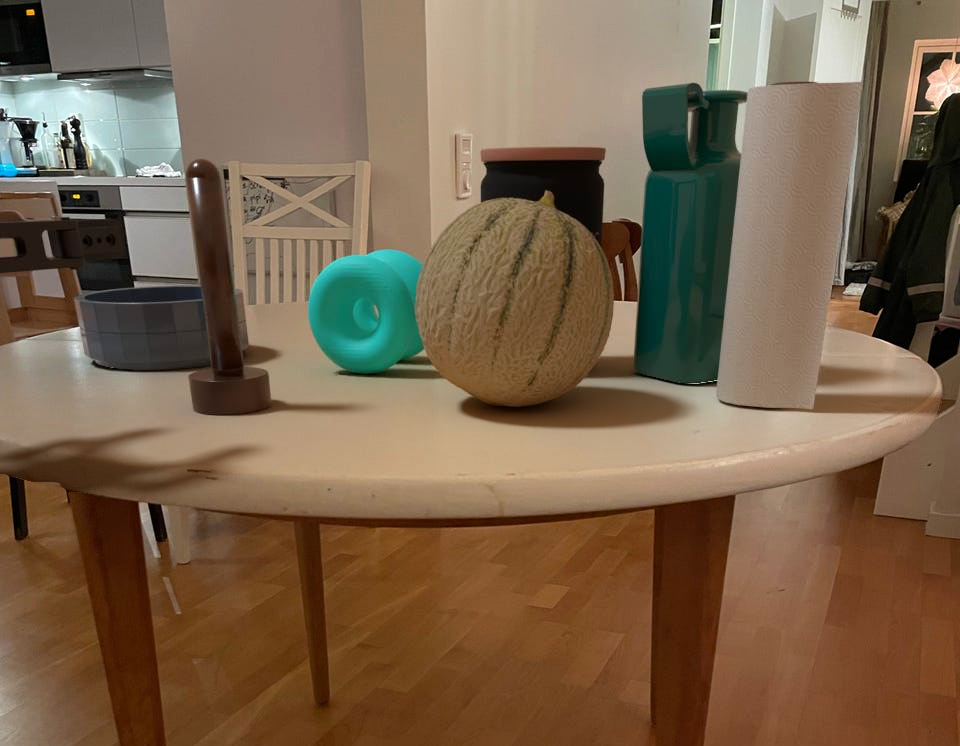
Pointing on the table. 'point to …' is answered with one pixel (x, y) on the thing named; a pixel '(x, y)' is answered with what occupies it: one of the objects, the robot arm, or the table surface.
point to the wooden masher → (219, 306)
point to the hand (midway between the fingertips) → (77, 237)
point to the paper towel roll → (785, 240)
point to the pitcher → (686, 230)
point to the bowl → (149, 327)
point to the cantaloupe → (515, 302)
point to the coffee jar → (549, 179)
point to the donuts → (367, 310)
